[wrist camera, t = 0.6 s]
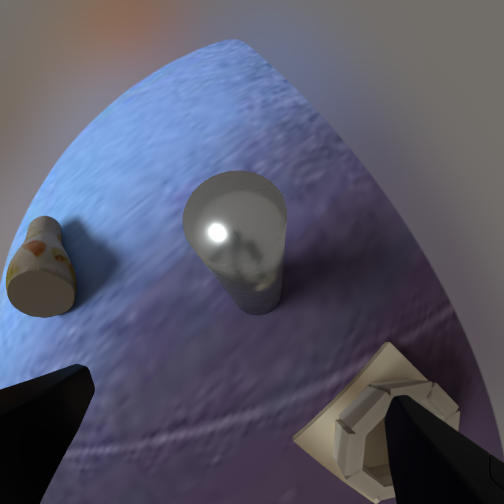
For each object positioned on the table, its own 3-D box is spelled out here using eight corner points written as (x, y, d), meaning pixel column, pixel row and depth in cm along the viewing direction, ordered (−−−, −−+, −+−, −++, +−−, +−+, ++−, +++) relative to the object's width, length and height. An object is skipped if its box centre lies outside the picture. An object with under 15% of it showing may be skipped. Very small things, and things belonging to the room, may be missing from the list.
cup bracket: (372, 499, 15) (391, 526, 10) (292, 436, 18) (296, 459, 13) (453, 412, 17) (487, 419, 12) (384, 342, 20) (412, 338, 15)
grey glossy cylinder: (256, 324, 21) (230, 287, 9) (224, 291, 22) (163, 216, 10) (290, 291, 22) (308, 213, 10) (257, 259, 23) (237, 155, 11)
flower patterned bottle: (75, 209, 27) (41, 193, 17) (99, 296, 28) (74, 317, 18) (21, 230, 25) (-24, 225, 15) (45, 313, 26) (6, 339, 16)
